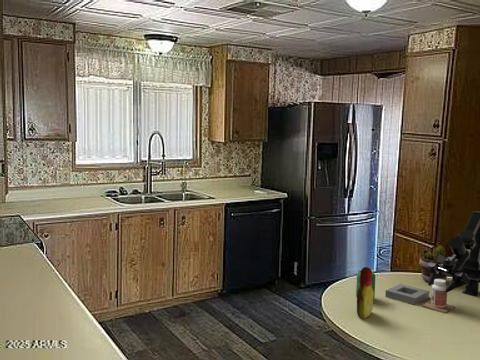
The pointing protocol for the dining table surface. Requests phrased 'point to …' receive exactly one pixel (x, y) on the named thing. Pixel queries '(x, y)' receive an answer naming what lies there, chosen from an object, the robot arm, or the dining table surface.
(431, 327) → the dining table surface
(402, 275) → the dining table surface
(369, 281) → the bottle
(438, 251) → the flowerpot
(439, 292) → the pill bottle
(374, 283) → the beverage can
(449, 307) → the pad
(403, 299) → the holder
